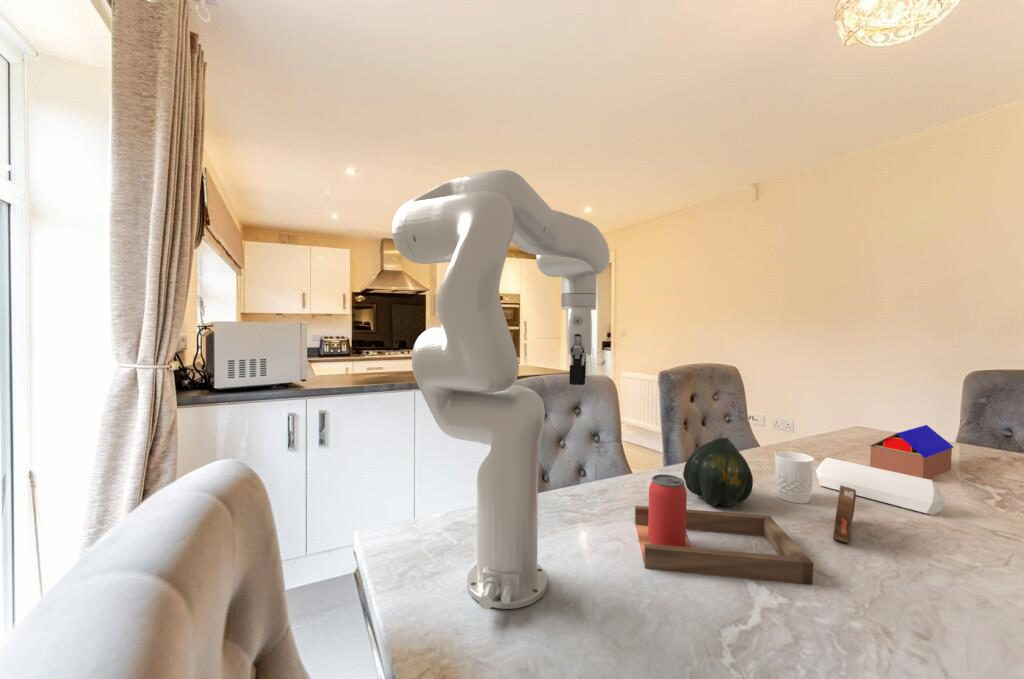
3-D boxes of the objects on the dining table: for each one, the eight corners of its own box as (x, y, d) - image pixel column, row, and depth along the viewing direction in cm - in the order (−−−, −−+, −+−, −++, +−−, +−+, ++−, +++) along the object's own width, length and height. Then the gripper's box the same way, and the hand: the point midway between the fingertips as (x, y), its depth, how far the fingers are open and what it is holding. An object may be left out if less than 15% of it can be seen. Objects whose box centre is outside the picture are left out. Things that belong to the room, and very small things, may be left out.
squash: (676, 483, 97) (725, 436, 94) (668, 464, 111) (711, 423, 109) (727, 532, 94) (779, 484, 92) (712, 506, 109) (757, 464, 106)
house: (868, 469, 123) (869, 428, 123) (899, 458, 133) (900, 420, 133) (923, 483, 113) (925, 438, 112) (952, 470, 123) (954, 429, 122)
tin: (836, 518, 92) (837, 479, 92) (855, 522, 90) (856, 482, 90) (831, 546, 81) (833, 501, 80) (853, 552, 79) (854, 506, 78)
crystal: (807, 471, 110) (939, 504, 91) (817, 453, 113) (946, 480, 94) (812, 493, 112) (941, 529, 93) (822, 474, 116) (948, 505, 97)
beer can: (688, 554, 77) (690, 487, 76) (649, 550, 78) (651, 484, 78) (682, 536, 83) (683, 474, 83) (646, 532, 85) (647, 472, 84)
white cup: (797, 491, 107) (799, 450, 106) (821, 504, 99) (823, 461, 98) (766, 491, 106) (767, 451, 106) (787, 505, 99) (789, 461, 98)
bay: (812, 584, 69) (813, 563, 69) (645, 568, 73) (645, 547, 73) (768, 532, 86) (769, 515, 85) (634, 522, 90) (634, 505, 90)
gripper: (596, 301, 85) (595, 388, 86) (595, 304, 102) (594, 376, 103) (558, 301, 87) (557, 386, 87) (563, 304, 104) (563, 376, 104)
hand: (577, 381), depth 95 cm, fingers open, 9 cm apart
